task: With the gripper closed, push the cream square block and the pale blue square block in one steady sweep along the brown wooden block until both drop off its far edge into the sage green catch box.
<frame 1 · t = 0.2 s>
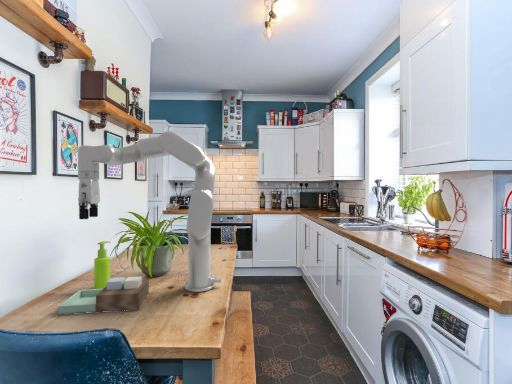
hand: (88, 217, 117), 31 cm above the table, tool pointing down, fingers open, 9 cm apart
cream square block: (133, 286, 107), point 6 cm above the table, touching brown wooden block
pale blue square block: (116, 287, 106), point 6 cm above the table, touching brown wooden block
catch box: (87, 304, 105), on the table
brown wooden block: (124, 302, 107), on the table
soap dispenser: (103, 288, 123), on the table
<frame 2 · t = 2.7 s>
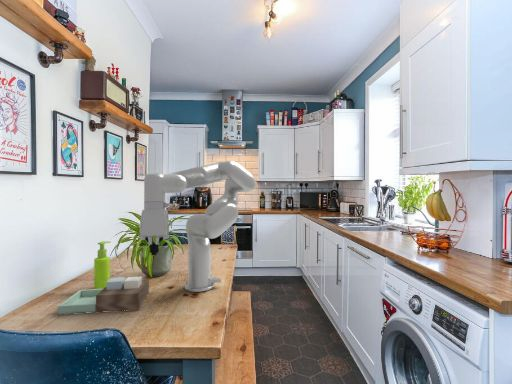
hand: (154, 254, 108), 18 cm above the table, tool pointing down, fingers closed
nothing on the table moved.
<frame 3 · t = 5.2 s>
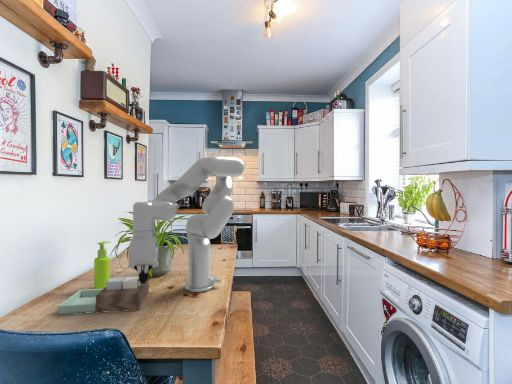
hand: (143, 282, 108), 7 cm above the table, tool pointing down, fingers closed
cream square block: (131, 286, 107), point 6 cm above the table, touching gripper, brown wooden block
everything else where it was.
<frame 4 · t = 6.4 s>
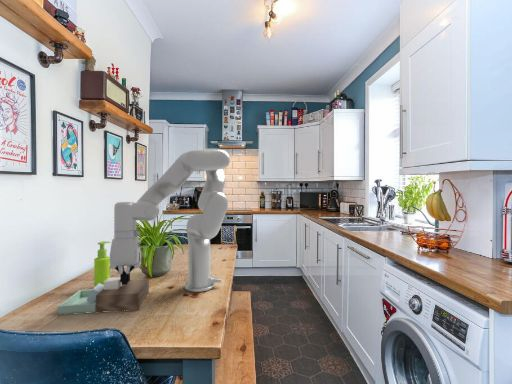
hand: (125, 283, 107), 7 cm above the table, tool pointing down, fingers closed
cream square block: (113, 287, 106), point 6 cm above the table, touching gripper, brown wooden block
pale blue square block: (99, 294, 106), point 3 cm above the table, tilted 59°
everything else where it was.
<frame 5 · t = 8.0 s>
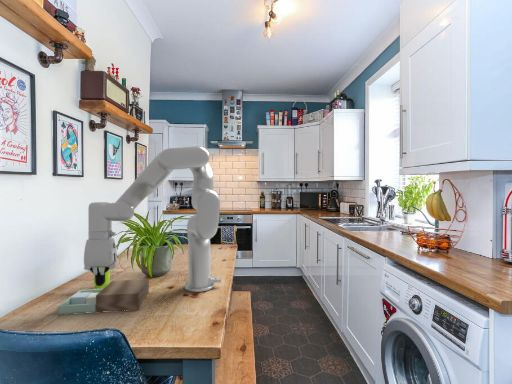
hand: (100, 284, 105), 7 cm above the table, tool pointing down, fingers closed
cream square block: (96, 302, 105), point 1 cm above the table, touching catch box
pale blue square block: (81, 294, 106), point 3 cm above the table, tilted 180°, touching catch box
everything else where it was.
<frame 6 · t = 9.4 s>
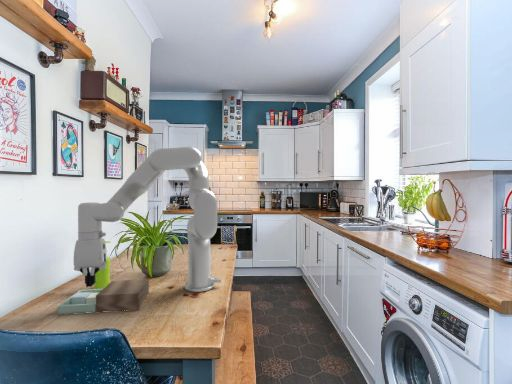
hand: (90, 285, 105), 7 cm above the table, tool pointing down, fingers closed
nothing on the table moved.
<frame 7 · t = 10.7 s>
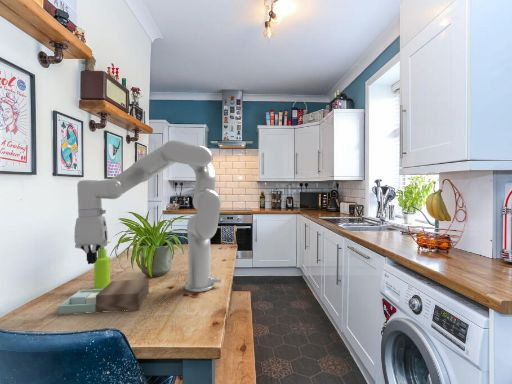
hand: (92, 262, 105), 15 cm above the table, tool pointing down, fingers closed
nothing on the table moved.
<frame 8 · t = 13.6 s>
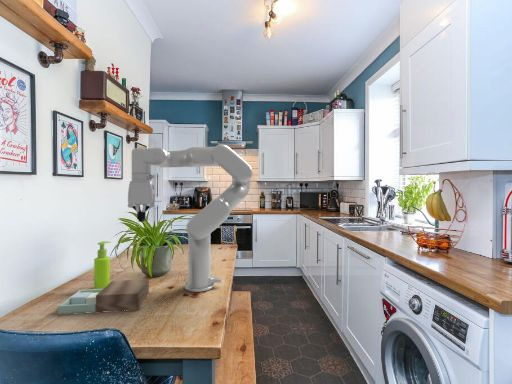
hand: (141, 221, 120), 29 cm above the table, tool pointing down, fingers closed
nothing on the table moved.
at the end: cream square block inside the target area (3.1 cm from its centre), point 0.6 cm above the table; pale blue square block inside the target area (2.6 cm from its centre), point 3.4 cm above the table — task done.
